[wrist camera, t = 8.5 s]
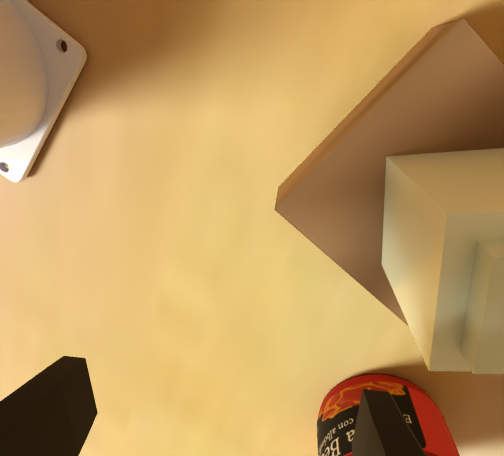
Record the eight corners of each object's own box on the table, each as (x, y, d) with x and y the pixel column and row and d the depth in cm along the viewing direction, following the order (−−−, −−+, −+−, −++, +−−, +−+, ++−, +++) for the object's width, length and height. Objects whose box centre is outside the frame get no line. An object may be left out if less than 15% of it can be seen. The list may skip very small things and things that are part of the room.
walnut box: (278, 184, 18) (274, 209, 15) (428, 28, 15) (464, 18, 12) (400, 292, 20) (419, 335, 17) (559, 174, 16) (622, 200, 13)
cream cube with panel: (381, 264, 15) (439, 395, 9) (386, 156, 14) (462, 227, 7) (499, 260, 15) (648, 398, 8) (520, 146, 13) (728, 215, 7)
